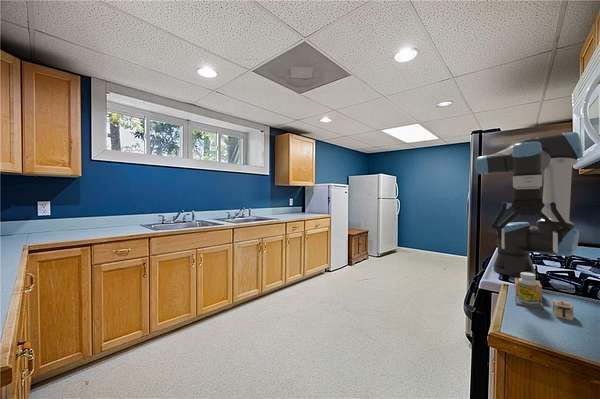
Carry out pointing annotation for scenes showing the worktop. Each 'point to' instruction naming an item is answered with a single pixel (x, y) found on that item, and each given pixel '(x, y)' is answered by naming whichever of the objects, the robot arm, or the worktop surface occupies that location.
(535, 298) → the supplement bottle
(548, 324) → the worktop surface
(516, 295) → the pink square bin
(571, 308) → the letter cube
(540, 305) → the slate coaster
